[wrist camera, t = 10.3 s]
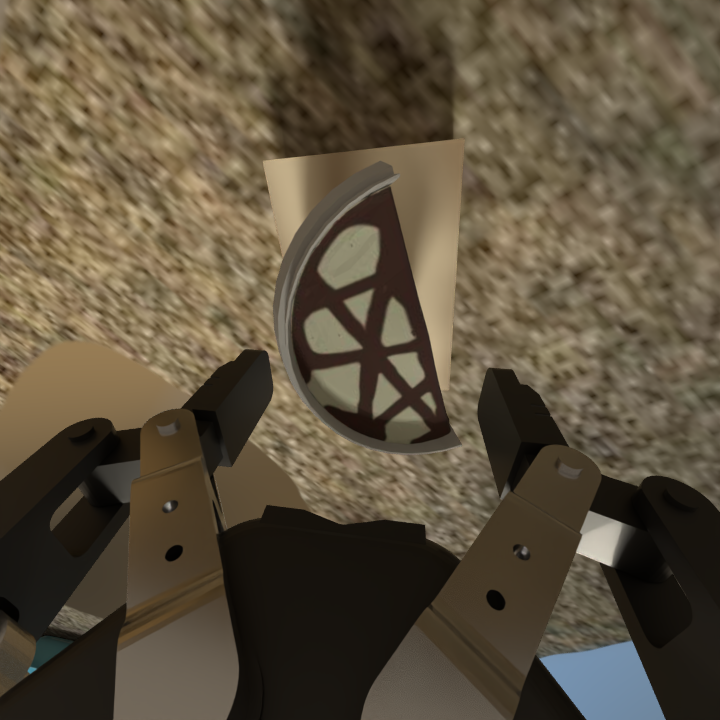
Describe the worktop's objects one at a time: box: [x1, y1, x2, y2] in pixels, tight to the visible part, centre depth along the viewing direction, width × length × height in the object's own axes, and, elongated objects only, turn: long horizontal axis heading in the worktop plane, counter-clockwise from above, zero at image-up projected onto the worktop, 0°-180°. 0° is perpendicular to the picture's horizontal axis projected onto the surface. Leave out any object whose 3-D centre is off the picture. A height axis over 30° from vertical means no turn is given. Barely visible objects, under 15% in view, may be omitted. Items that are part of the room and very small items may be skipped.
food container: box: [273, 161, 462, 455], centre depth 17 cm, size 12×6×10 cm, turn 18°
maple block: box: [263, 138, 465, 390], centre depth 24 cm, size 11×16×5 cm
